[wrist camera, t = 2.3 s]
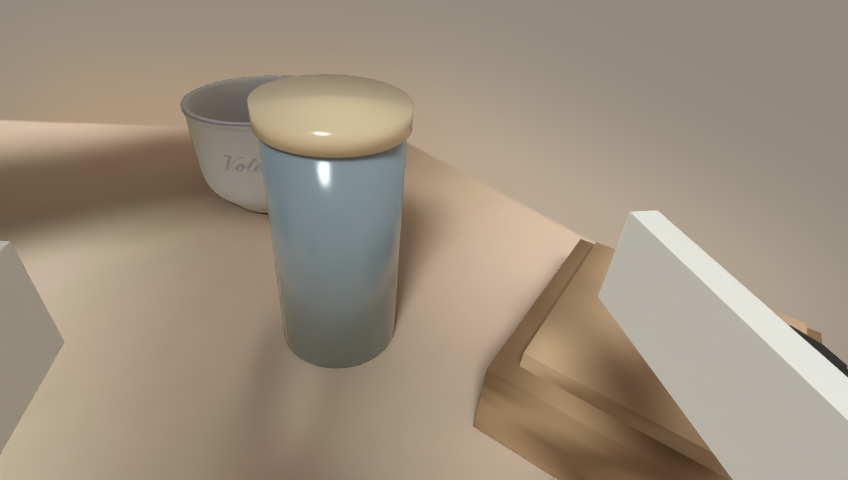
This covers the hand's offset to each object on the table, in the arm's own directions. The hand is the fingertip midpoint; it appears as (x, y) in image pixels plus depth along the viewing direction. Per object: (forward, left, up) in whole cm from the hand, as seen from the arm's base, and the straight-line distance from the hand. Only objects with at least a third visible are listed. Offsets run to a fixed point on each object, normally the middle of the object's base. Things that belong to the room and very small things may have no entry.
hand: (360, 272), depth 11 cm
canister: (-7, +7, -12) cm, 16 cm away
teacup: (-20, +16, -12) cm, 29 cm away
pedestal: (+8, +12, -12) cm, 19 cm away
